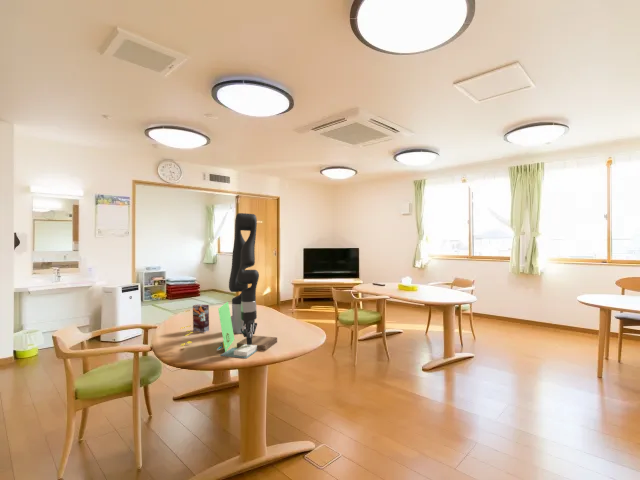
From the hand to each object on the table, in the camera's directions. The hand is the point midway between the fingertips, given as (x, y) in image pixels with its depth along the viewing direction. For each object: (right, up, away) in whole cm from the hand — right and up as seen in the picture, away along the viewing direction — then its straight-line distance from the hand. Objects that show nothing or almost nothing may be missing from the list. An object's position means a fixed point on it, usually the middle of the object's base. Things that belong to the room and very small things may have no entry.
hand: (249, 344), depth 165 cm
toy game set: (-24, -4, +7) cm, 25 cm away
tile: (-1, -3, -3) cm, 4 cm away
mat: (-4, -3, -4) cm, 6 cm away
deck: (+3, -3, +8) cm, 9 cm away
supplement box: (-37, -4, +36) cm, 52 cm away
